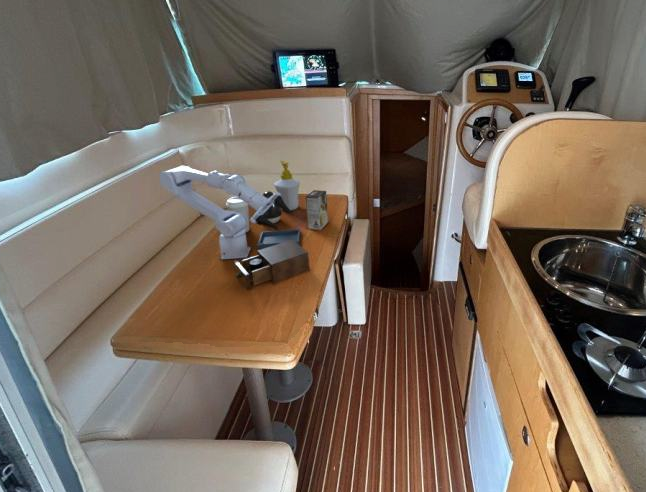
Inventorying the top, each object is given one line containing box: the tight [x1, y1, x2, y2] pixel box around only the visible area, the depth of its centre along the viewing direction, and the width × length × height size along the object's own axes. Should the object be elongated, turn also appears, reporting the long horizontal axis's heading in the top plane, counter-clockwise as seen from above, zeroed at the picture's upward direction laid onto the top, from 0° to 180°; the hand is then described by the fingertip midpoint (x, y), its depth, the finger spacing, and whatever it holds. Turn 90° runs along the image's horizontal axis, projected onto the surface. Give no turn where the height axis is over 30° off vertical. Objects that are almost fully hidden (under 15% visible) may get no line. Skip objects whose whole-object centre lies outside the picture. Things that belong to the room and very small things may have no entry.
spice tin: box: [250, 259, 263, 275], centre depth 125 cm, size 4×4×5 cm
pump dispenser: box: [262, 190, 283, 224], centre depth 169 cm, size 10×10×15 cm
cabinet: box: [257, 240, 310, 285], centre depth 131 cm, size 14×13×8 cm
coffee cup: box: [225, 196, 250, 233], centre depth 159 cm, size 10×10×15 cm
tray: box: [257, 228, 301, 250], centre depth 153 cm, size 16×12×2 cm
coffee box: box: [305, 189, 329, 231], centre depth 166 cm, size 9×6×16 cm
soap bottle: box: [273, 160, 301, 211], centre depth 183 cm, size 13×13×25 cm
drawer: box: [233, 254, 273, 291], centre depth 125 cm, size 14×11×6 cm
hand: (284, 220), depth 132 cm, fingers open, 7 cm apart
